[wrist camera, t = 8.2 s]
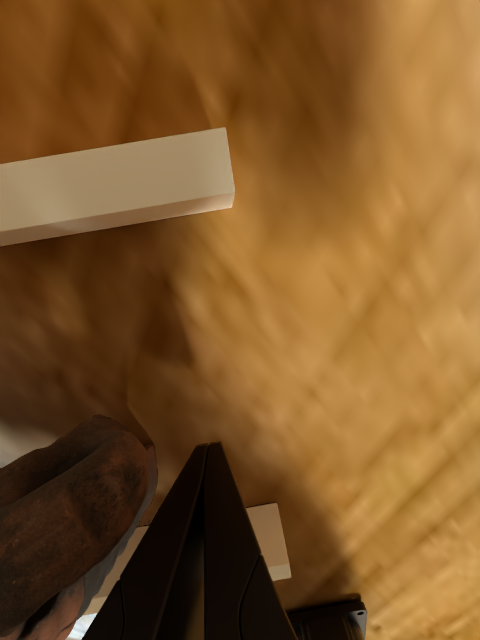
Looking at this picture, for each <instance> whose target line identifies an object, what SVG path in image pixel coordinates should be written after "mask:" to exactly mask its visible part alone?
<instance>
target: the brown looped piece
mask: <svg viewBox="0 0 480 640" xmlns="http://www.w3.org/2000/svg"><path fill="white" fill-rule="evenodd" d="M157 482H158V469H157V460H156V455H155V451H154V447H153V446H152V445H146V446H145V447H144V446H143V445H142V444H141V443H140V442H139V440H138V438H137V437H136V436H135V435H134V434H133V433H130V431H129V430H128V429H127V428H126V427H124V426H123V425H121V424H119V423H118V422H116V421H114V420H112V419H111V418H108V417H105V416H102V415H96V416H94V417H93V418H92V419H91V420H90V421H88V422H84V423H81V424H79V425H78V426H77V427H75V428H74V429H73V430H71V431H70V432H69V433H67V434H66V435H65V436H63V437H61V438H59V439H58V440H56V441H55V442H54V443H52V444H51V445H50V446H48V447H45V448H41V449H36V450H33V451H31V452H29V453H27V454H25V455H23V456H21V457H20V458H18V459H17V460H15V461H13V462H12V463H10V464H8V465H7V466H5V467H3V468H0V640H65V639H66V638H67V637H68V635H69V634H70V632H71V631H72V629H73V627H74V625H75V622H76V620H78V619H79V618H80V617H81V616H82V615H83V614H84V613H85V612H86V610H87V609H88V607H89V605H90V603H91V600H92V598H93V597H94V596H95V595H96V594H98V592H99V591H100V589H101V586H102V585H103V583H104V581H105V578H106V576H107V575H108V574H109V573H110V572H111V570H112V569H113V567H114V564H115V562H116V559H117V557H119V556H120V555H121V554H122V553H123V551H124V550H125V548H126V546H127V543H128V540H129V539H130V538H131V536H132V535H133V533H134V531H135V529H136V527H137V524H138V523H139V521H140V519H141V517H142V515H143V513H144V511H145V510H146V509H147V507H148V506H149V504H150V503H151V501H152V499H153V497H154V494H155V490H156V487H157Z"/></svg>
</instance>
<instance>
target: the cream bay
mask: <svg viewBox="0 0 480 640" xmlns="http://www.w3.org/2000/svg"><path fill="white" fill-rule="evenodd" d="M234 196H235V187H234V180H233V173H232V167H231V160H230V153H229V146H228V139H227V132H226V127H222V128H216V129H210V130H204V131H198V132H192V133H186V134H180V135H174V136H168V137H162V138H156V139H150V140H144V141H137V142H131V143H125V144H119V145H113V146H107V147H101V148H95V149H89V150H83V151H77V152H71V153H65V154H58V155H52V156H46V157H40V158H34V159H28V160H22V161H16V162H10V163H4V164H0V246H6V245H12V244H18V243H24V242H30V241H36V240H42V239H48V238H54V237H60V236H66V235H72V234H78V233H84V232H90V231H96V230H102V229H108V228H114V227H119V226H125V225H131V224H137V223H143V222H149V221H155V220H161V219H167V218H173V217H179V216H185V215H191V214H197V213H203V212H209V211H215V210H221V209H227V208H232V205H233V200H234ZM246 510H247V513H248V516H249V518H250V521H251V524H252V527H253V529H254V532H255V535H256V538H257V540H258V543H259V546H260V549H261V551H262V555H263V556H264V559H265V562H266V565H267V567H268V570H269V573H270V575H271V578H272V581H276V580H281V579H287V578H291V571H290V564H289V559H288V554H287V549H286V544H285V539H284V534H283V529H282V524H281V519H280V514H279V509H278V504H277V503H272V504H267V505H261V506H256V507H250V508H246ZM148 527H149V526H144V527H138V528H136V529H135V531H134V533H133V535H132V536H131V538H130V539H129V540H128V543H127V546H126V548H125V550H124V551H123V553H122V554H121V555H120V556H119V557H117V559H116V562H115V564H114V567H113V569H112V570H111V572H110V573H109V574H108V575H107V576H106V578H105V581H104V583H103V585H102V586H101V589H100V591H99V592H98V594H96V595H95V596H94V597H93V598H92V600H91V603H90V605H89V607H88V609H87V610H86V612H85V613H84V614H83V615H88V614H94V613H98V612H99V610H100V609H101V607H102V605H103V604H104V602H105V600H106V599H107V597H108V595H109V593H110V592H111V590H112V588H113V587H114V585H115V583H116V582H117V580H120V575H121V573H122V572H123V570H124V568H125V566H126V565H127V563H128V561H129V560H130V558H131V556H132V554H133V553H134V551H135V549H136V548H137V546H138V544H139V543H140V541H141V539H142V537H143V536H144V534H145V532H146V531H147V529H148Z"/></svg>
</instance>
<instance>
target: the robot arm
mask: <svg viewBox="0 0 480 640" xmlns="http://www.w3.org/2000/svg"><path fill="white" fill-rule="evenodd" d="M366 621H367V610H366V608H365V605H364V603H363V602H354V603H348V604H343V605H337V606H332V607H326V608H321V609H315V610H310V611H304V612H299V613H293V614H288V615H287V614H286V612H285V610H284V608H283V606H282V603H281V601H280V598H279V596H278V593H277V591H276V588H275V586H274V583H273V581H272V578H271V575H270V573H269V570H268V567H267V565H266V562H265V559H264V556H263V555H262V551H261V549H260V546H259V543H258V540H257V538H256V535H255V532H254V529H253V527H252V524H251V521H250V518H249V516H248V513H247V510H246V508H245V505H244V502H243V499H242V497H241V494H240V491H239V488H238V486H237V483H236V480H235V477H234V475H233V472H232V469H231V467H230V464H229V461H228V458H227V456H226V453H225V450H224V447H223V445H222V442H221V441H218V442H212V443H210V444H201V445H197V446H196V447H195V449H194V450H193V452H192V454H191V456H190V457H189V459H188V461H187V462H186V464H185V466H184V467H183V469H182V471H181V473H180V474H179V476H178V478H177V479H176V481H175V483H174V485H173V486H172V488H171V490H170V491H169V493H168V495H167V496H166V498H165V500H164V502H163V503H162V505H161V507H160V508H159V510H158V512H157V514H156V515H155V517H154V519H153V520H152V522H151V524H150V525H149V527H148V529H147V531H146V532H145V534H144V536H143V537H142V539H141V541H140V543H139V544H138V546H137V548H136V549H135V551H134V553H133V554H132V556H131V558H130V560H129V561H128V563H127V565H126V566H125V568H124V570H123V572H122V573H121V575H120V580H117V582H116V583H115V585H114V587H113V588H112V590H111V592H110V593H109V595H108V597H107V599H106V600H105V602H104V604H103V605H102V607H101V609H100V610H99V612H98V614H97V615H96V617H95V618H94V620H93V622H92V623H91V625H90V627H89V628H88V630H87V632H86V633H85V635H84V637H83V638H82V640H365V634H366Z"/></svg>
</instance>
